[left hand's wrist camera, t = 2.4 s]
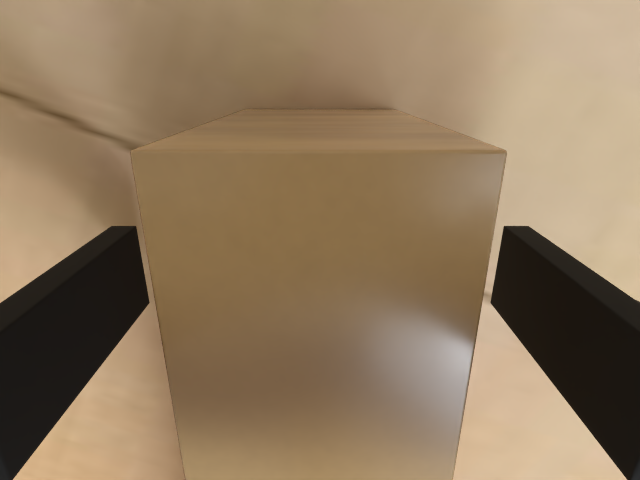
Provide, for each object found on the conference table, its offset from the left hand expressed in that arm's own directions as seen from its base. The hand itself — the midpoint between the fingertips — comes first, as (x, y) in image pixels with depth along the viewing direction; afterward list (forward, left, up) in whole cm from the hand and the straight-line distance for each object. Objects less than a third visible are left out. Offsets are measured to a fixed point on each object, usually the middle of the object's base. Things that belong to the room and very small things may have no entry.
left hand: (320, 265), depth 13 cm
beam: (+12, +20, -2) cm, 23 cm away
